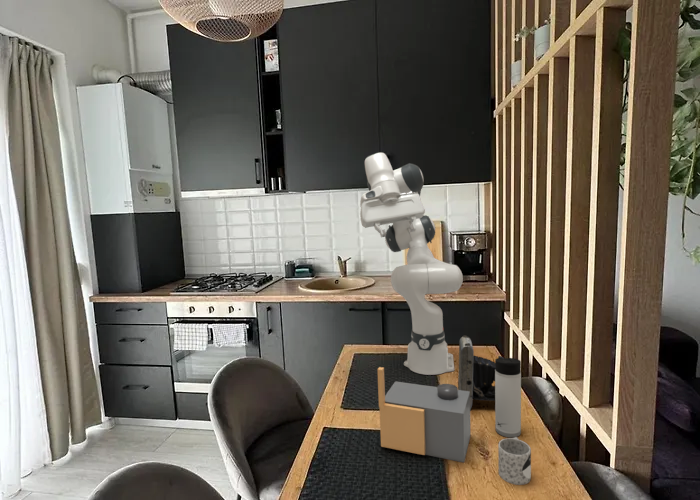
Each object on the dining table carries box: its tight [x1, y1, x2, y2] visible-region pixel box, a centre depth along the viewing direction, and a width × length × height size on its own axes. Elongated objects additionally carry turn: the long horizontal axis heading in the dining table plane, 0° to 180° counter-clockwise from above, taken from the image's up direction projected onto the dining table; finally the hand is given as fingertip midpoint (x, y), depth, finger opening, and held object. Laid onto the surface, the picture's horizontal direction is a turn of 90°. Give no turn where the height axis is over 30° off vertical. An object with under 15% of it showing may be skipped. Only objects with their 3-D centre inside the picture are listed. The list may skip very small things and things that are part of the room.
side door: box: [376, 366, 426, 456], centre depth 99 cm, size 2×11×20 cm, turn 67°
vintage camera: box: [457, 335, 504, 409], centre depth 122 cm, size 10×16×20 cm, turn 79°
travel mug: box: [494, 357, 522, 438], centre depth 106 cm, size 6×7×20 cm
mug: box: [497, 436, 532, 486], centre depth 92 cm, size 10×7×7 cm, turn 155°
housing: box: [385, 381, 471, 463], centre depth 104 cm, size 12×20×14 cm, turn 67°
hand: (398, 233), depth 125 cm, fingers open, 8 cm apart
